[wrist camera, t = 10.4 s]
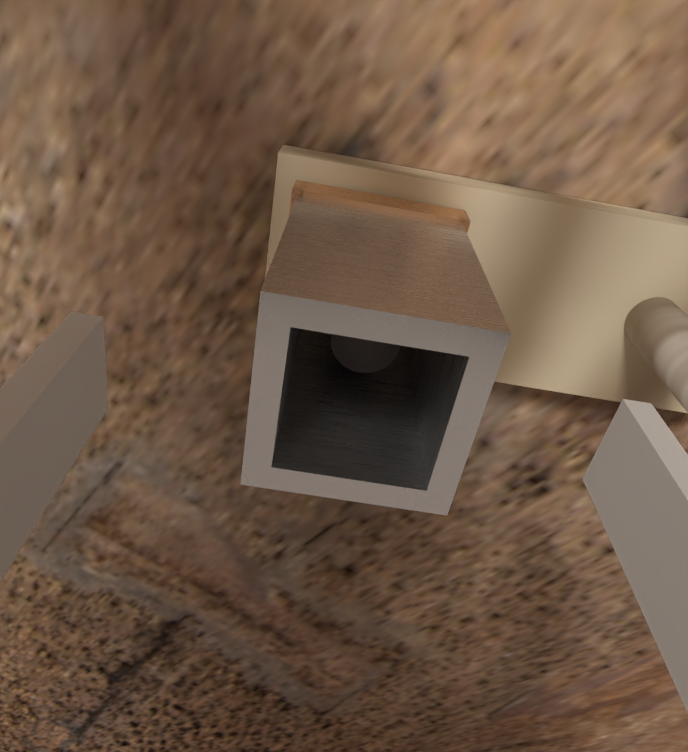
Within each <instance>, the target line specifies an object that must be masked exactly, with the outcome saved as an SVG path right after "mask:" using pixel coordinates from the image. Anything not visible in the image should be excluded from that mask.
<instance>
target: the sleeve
mask: <svg viewBox="0 0 688 752" xmlns="http://www.w3.org/2000/svg"><path fill="white" fill-rule="evenodd" d="M470 222H471V221H470V219H469V217H468V215H467V213H466V211H465V210H461V209H456V208H450V207H445V206H439V205H433V204H428V203H422V202H417V201H411V200H406V199H400V198H395V197H389V196H383V195H378V194H372V193H367V192H361V191H356V190H350V189H345V188H339V187H333V186H328V185H322V184H317V183H311V182H306V181H300V180H296V181H295V184H294V186H293V188H292V195H291V203H290V211H289V218H288V221H287V224H286V226H285V229H284V231H283V234H282V236H281V239H280V242H279V244H278V247H277V249H276V252H275V255H274V257H273V260H272V262H271V265H270V268H269V270H268V273H267V275H266V278H265V281H264V283H263V286H262V288H261V291H260V301H259V310H258V320H257V329H256V339H255V349H254V358H253V368H252V378H251V387H250V397H249V407H248V416H247V426H246V436H245V445H244V455H243V464H242V474H241V484H240V485H247V486H253V487H260V488H267V489H273V490H280V491H287V492H293V493H300V494H307V495H313V496H320V497H327V498H333V499H340V500H347V501H353V502H360V503H367V504H373V505H380V506H386V507H393V508H400V509H406V510H413V511H420V512H426V513H433V514H440V515H446V516H447V515H448V512H449V509H450V506H451V503H452V501H453V498H454V495H455V492H456V489H457V486H458V484H459V481H460V478H461V475H462V472H463V469H464V467H465V464H466V461H467V458H468V455H469V452H470V449H471V447H472V444H473V441H474V438H475V435H476V432H477V430H478V427H479V424H480V421H481V418H482V415H483V413H484V410H485V407H486V404H487V401H488V398H489V396H490V393H491V390H492V387H493V384H494V381H495V379H496V376H497V373H498V370H499V367H500V364H501V362H502V359H503V356H504V353H505V350H506V347H507V344H508V342H509V339H510V336H511V331H510V329H509V327H508V325H507V322H506V320H505V318H504V316H503V313H502V311H501V309H500V307H499V304H498V302H497V300H496V298H495V295H494V293H493V291H492V289H491V286H490V284H489V282H488V280H487V277H486V275H485V273H484V271H483V268H482V266H481V264H480V262H479V259H478V257H477V255H476V253H475V250H474V248H473V246H472V244H471V241H470V239H469V237H468V235H467V232H468V229H469V225H470ZM332 334H335V335H341V336H347V337H353V338H359V339H365V340H371V341H377V342H383V343H389V344H395V345H400V349H399V352H398V354H397V356H396V358H395V359H394V360H393V361H392V363H390V364H389V365H388V366H387V367H385V368H383V369H381V370H379V371H375V372H370V373H361V372H356V371H353V370H350V369H348V368H346V367H345V366H343V365H342V364H341V363H340V362H339V361H338V360H337V359H336V357H335V356H334V354H333V351H332V348H331V335H332Z"/></svg>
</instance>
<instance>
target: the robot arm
mask: <svg viewBox="0 0 688 752" xmlns="http://www.w3.org/2000/svg"><path fill="white" fill-rule="evenodd" d="M107 409H108V394H107V376H106V357H105V339H104V320H103V316H97V315H91V314H85V313H78V312H72V311H71V312H70V313H69V314H68V315H67V316H66V317H65V318H64V320H63V321H62V322H61V323H60V324H59V325H58V326H57V327H56V328H55V329H54V330H53V331H52V333H51V334H50V335H49V336H48V337H47V338H46V339H45V340H44V341H43V342H42V343H41V344H40V346H39V347H38V348H37V349H36V350H35V351H34V352H33V353H32V354H31V355H30V356H29V357H28V358H27V360H26V361H25V362H24V363H23V364H22V365H21V366H20V367H19V368H18V369H17V370H16V371H15V373H14V374H13V375H12V376H11V377H10V378H9V379H8V380H7V381H6V382H5V383H4V384H3V386H2V387H1V388H0V582H1V580H2V579H3V577H4V576H5V574H6V572H7V571H8V569H9V568H10V566H11V564H12V563H13V561H14V559H15V558H16V556H17V555H18V553H19V551H20V550H21V548H22V547H23V545H24V543H25V542H26V540H27V538H28V537H29V535H30V534H31V532H32V530H33V529H34V527H35V526H36V524H37V522H38V521H39V519H40V517H41V516H42V514H43V513H44V511H45V509H46V508H47V506H48V505H49V503H50V501H51V500H52V498H53V496H54V495H55V493H56V492H57V490H58V488H59V487H60V485H61V484H62V482H63V480H64V479H65V477H66V475H67V474H68V472H69V471H70V469H71V467H72V466H73V464H74V463H75V461H76V459H77V458H78V456H79V454H80V453H81V451H82V450H83V448H84V446H85V445H86V443H87V442H88V440H89V438H90V437H91V435H92V433H93V432H94V430H95V429H96V427H97V425H98V424H99V422H100V421H101V419H102V417H103V416H104V414H105V412H106V411H107ZM583 481H584V483H585V486H586V488H587V490H588V492H589V495H590V497H591V499H592V501H593V503H594V506H595V508H596V510H597V512H598V515H599V517H600V519H601V521H602V523H603V526H604V528H605V530H606V532H607V535H608V537H609V539H610V541H611V543H612V546H613V548H614V550H615V552H616V555H617V557H618V559H619V561H620V563H621V566H622V568H623V570H624V572H625V575H626V577H627V579H628V581H629V583H630V586H631V588H632V590H633V592H634V595H635V597H636V599H637V601H638V603H639V606H640V608H641V610H642V612H643V615H644V617H645V619H646V621H647V623H648V626H649V628H650V630H651V632H652V635H653V637H654V639H655V641H656V643H657V646H658V648H659V650H660V652H661V655H662V657H663V659H664V661H665V663H666V666H667V668H668V670H669V672H670V675H671V677H672V679H673V681H674V683H675V686H676V688H677V690H678V692H679V695H680V697H681V699H682V701H683V704H684V706H685V708H686V710H687V712H688V455H687V453H686V452H685V451H684V449H683V448H682V446H681V445H680V443H679V442H678V441H677V439H676V438H675V436H674V435H673V433H672V432H671V431H670V429H669V428H668V426H667V425H666V424H665V422H664V421H663V419H662V418H661V416H660V415H659V414H658V412H657V411H656V409H655V408H654V406H653V405H652V404H651V403H646V402H639V401H633V400H627V399H623V400H622V402H621V404H620V405H619V407H618V409H617V411H616V413H615V415H614V417H613V419H612V421H611V423H610V425H609V427H608V429H607V431H606V433H605V435H604V437H603V439H602V441H601V443H600V445H599V447H598V449H597V451H596V453H595V455H594V457H593V459H592V461H591V463H590V465H589V467H588V469H587V471H586V473H585V475H584V477H583Z"/></svg>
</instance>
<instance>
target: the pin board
mask: <svg viewBox="0 0 688 752" xmlns="http://www.w3.org/2000/svg"><path fill="white" fill-rule="evenodd" d="M296 180H300V181H306V182H311V183H317V184H322V185H328V186H333V187H339V188H345V189H350V190H356V191H361V192H367V193H372V194H378V195H383V196H389V197H395V198H400V199H406V200H411V201H417V202H422V203H428V204H433V205H439V206H445V207H450V208H456V209H461V210H465V211H466V213H467V215H468V217H469V219H470V221H471V222H470V225H469V229H468V232H467V235H468V237H469V239H470V241H471V244H472V246H473V248H474V250H475V253H476V255H477V257H478V259H479V262H480V264H481V266H482V268H483V271H484V273H485V275H486V277H487V280H488V282H489V284H490V286H491V289H492V291H493V293H494V295H495V298H496V300H497V302H498V304H499V307H500V309H501V311H502V313H503V316H504V318H505V320H506V322H507V325H508V327H509V329H510V331H511V336H510V339H509V342H508V344H507V347H506V350H505V353H504V356H503V359H502V362H501V364H500V367H499V370H498V373H497V376H496V379H495V381H494V382H500V383H506V384H512V385H518V386H524V387H530V388H536V389H542V390H549V391H555V392H561V393H567V394H573V395H579V396H585V397H592V398H598V399H604V400H610V401H616V402H622V400H623V399H627V400H633V401H639V402H646V403H651V404H652V405H653V406H654V408H659V409H665V410H671V411H677V412H684V413H688V218H684V217H679V216H673V215H668V214H662V213H657V212H651V211H646V210H640V209H635V208H629V207H624V206H618V205H613V204H607V203H602V202H596V201H591V200H585V199H580V198H575V197H569V196H564V195H558V194H553V193H547V192H542V191H536V190H531V189H525V188H520V187H514V186H509V185H503V184H498V183H492V182H487V181H481V180H476V179H470V178H465V177H459V176H454V175H448V174H443V173H437V172H432V171H426V170H421V169H415V168H410V167H404V166H399V165H393V164H388V163H382V162H377V161H371V160H366V159H360V158H355V157H349V156H344V155H338V154H333V153H327V152H322V151H317V150H311V149H306V148H300V147H295V146H289V145H284V144H283V146H282V147H281V149H280V150H279V152H278V159H277V169H276V178H275V188H274V197H273V207H272V216H271V226H270V235H269V245H268V254H267V264H266V273H265V278H266V275H267V273H268V270H269V268H270V265H271V262H272V260H273V257H274V255H275V252H276V249H277V247H278V244H279V242H280V239H281V236H282V234H283V231H284V229H285V226H286V224H287V221H288V218H289V211H290V203H291V195H292V188H293V186H294V184H295V181H296ZM331 348H332V351H333V354H334V356H335V357H336V359H337V360H338V361H339V362H340V363H341V364H342V365H343V366H345V367H346V368H348V369H350V370H353V371H356V372H361V373H370V372H375V371H379V370H381V369H383V368H385V367H387V366H388V365H389V364H390V363H392V361H393V360H394V359H395V358H396V356H397V354H398V352H399V349H400V345H395V344H389V343H383V342H377V341H371V340H365V339H359V338H353V337H347V336H341V335H335V334H332V335H331Z"/></svg>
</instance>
